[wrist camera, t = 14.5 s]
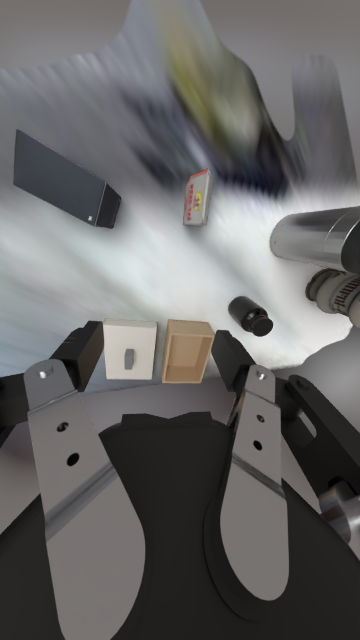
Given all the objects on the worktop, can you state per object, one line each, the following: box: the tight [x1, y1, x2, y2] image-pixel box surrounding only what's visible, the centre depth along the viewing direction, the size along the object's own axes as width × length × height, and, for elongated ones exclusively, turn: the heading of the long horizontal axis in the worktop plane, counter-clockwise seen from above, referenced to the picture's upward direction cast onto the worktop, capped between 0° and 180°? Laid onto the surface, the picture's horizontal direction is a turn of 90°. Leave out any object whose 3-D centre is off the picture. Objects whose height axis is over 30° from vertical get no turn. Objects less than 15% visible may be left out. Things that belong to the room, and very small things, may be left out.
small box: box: [13, 128, 121, 229], centre depth 26 cm, size 11×6×10 cm, turn 63°
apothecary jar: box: [306, 268, 360, 328], centre depth 38 cm, size 12×12×18 cm
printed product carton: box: [183, 168, 213, 226], centre depth 29 cm, size 4×7×10 cm, turn 175°
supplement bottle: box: [229, 296, 273, 337], centre depth 41 cm, size 7×7×12 cm
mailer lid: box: [103, 318, 157, 379], centre depth 46 cm, size 14×20×6 cm
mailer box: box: [162, 319, 215, 383], centre depth 47 cm, size 12×18×7 cm, turn 171°
